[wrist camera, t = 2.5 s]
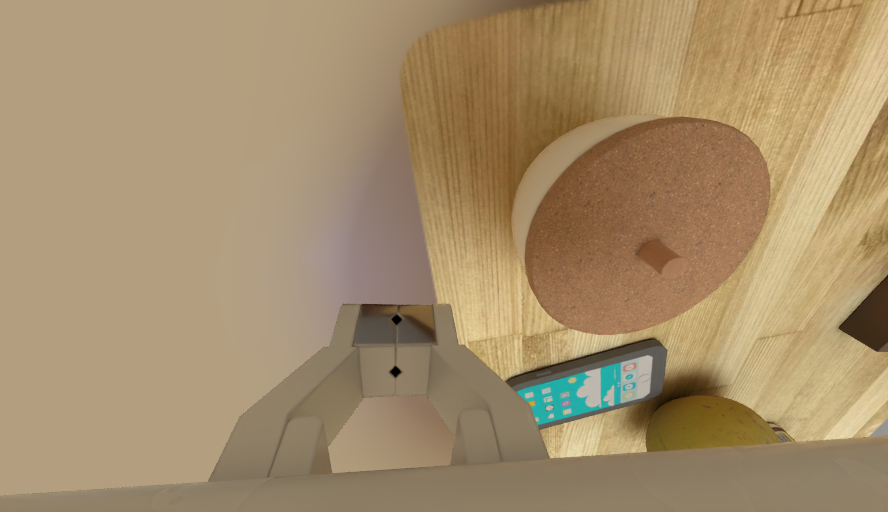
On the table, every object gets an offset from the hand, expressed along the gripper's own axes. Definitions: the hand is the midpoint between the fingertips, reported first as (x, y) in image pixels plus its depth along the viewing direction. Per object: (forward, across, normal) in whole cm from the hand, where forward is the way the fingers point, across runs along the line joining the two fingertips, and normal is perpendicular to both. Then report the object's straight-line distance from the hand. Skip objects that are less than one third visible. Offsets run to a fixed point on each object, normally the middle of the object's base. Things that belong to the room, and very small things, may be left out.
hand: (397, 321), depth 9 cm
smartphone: (+12, -18, +19) cm, 29 cm away
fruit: (+13, -30, +23) cm, 40 cm away
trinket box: (+12, -11, 0) cm, 17 cm away
